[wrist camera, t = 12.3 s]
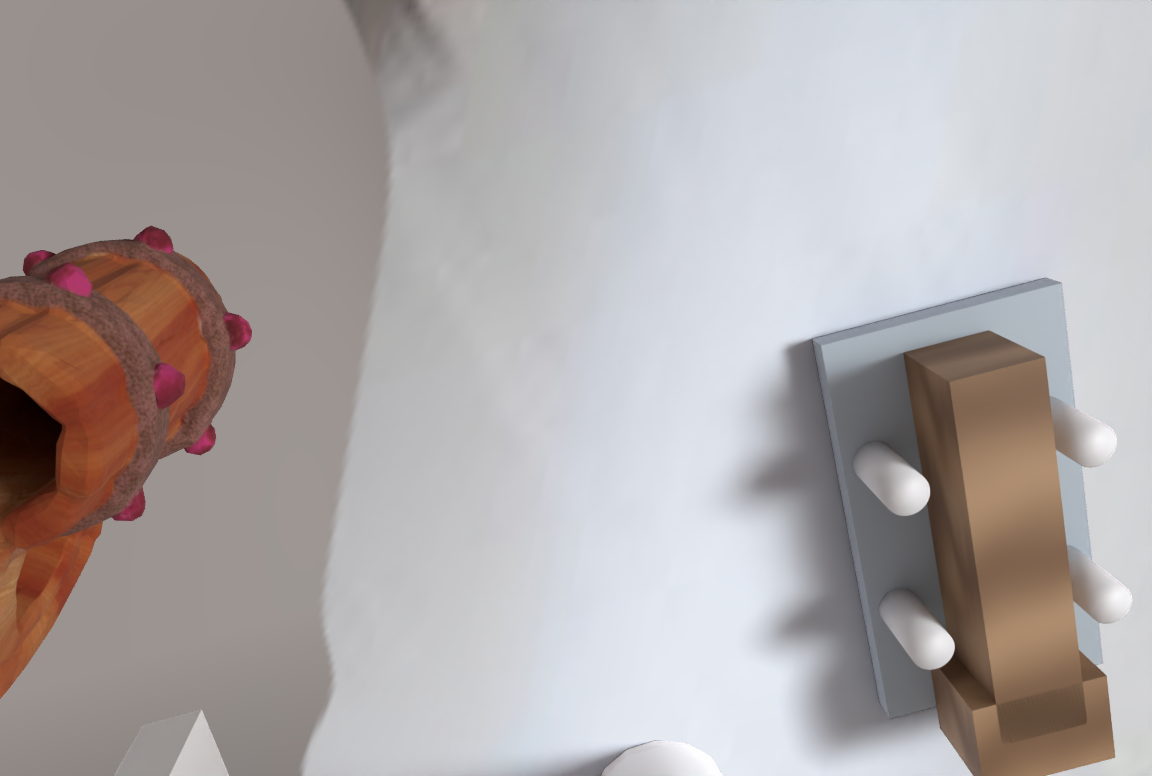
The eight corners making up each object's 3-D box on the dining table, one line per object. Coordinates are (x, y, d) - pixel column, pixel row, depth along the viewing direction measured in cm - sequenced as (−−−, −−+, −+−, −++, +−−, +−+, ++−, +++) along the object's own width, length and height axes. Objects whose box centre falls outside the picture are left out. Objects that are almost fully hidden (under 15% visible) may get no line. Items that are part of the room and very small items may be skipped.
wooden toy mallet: (879, 358, 41) (922, 388, 37) (1012, 324, 41) (1071, 350, 37) (940, 728, 46) (984, 791, 42) (1058, 697, 46) (1115, 757, 42)
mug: (78, 179, 38) (-179, 232, 24) (290, 256, 39) (168, 349, 25) (-12, 519, 41) (-283, 745, 27) (186, 579, 43) (28, 825, 28)
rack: (812, 338, 42) (850, 368, 37) (1046, 277, 42) (1114, 300, 37) (880, 703, 47) (921, 769, 42) (1088, 649, 47) (1152, 709, 42)
